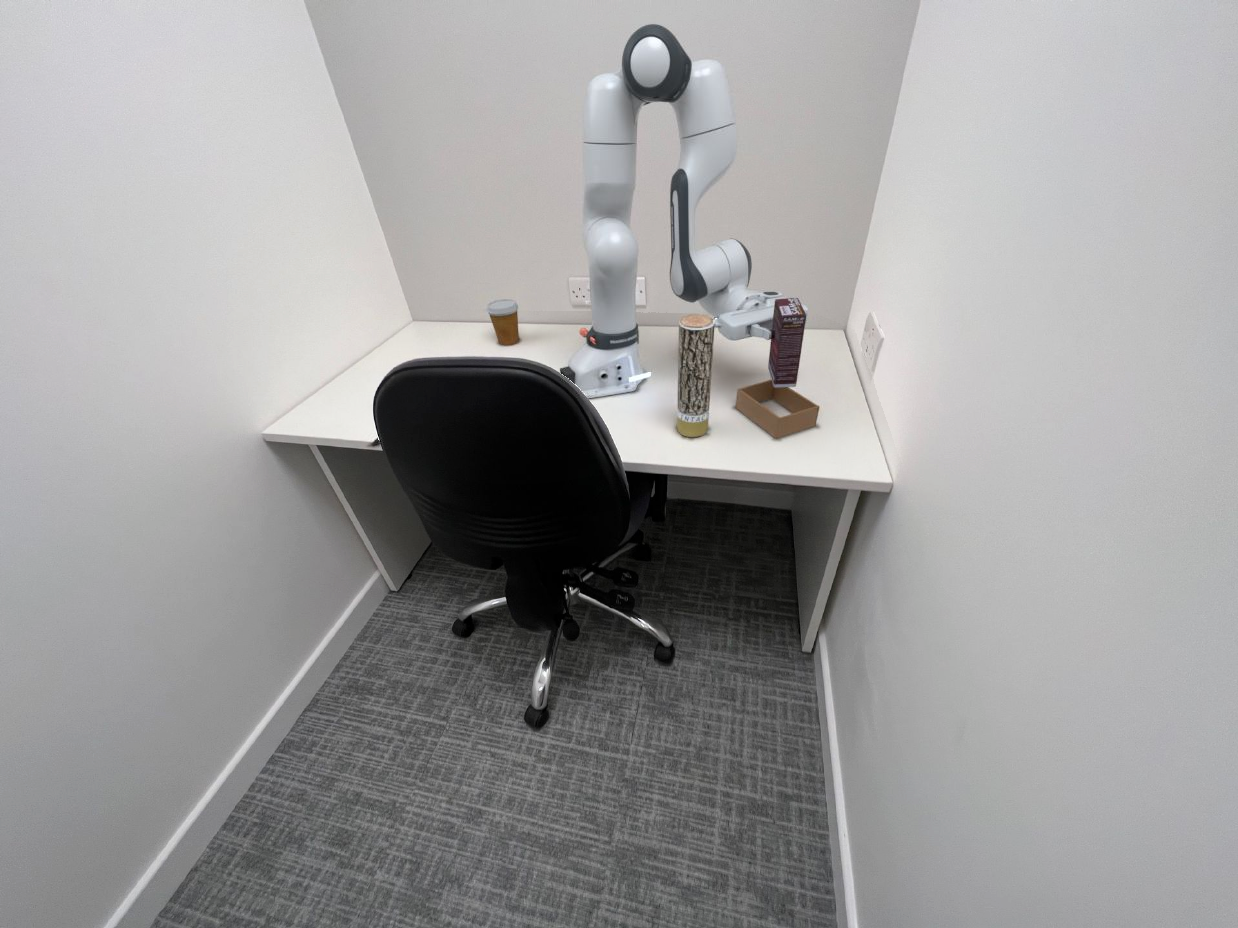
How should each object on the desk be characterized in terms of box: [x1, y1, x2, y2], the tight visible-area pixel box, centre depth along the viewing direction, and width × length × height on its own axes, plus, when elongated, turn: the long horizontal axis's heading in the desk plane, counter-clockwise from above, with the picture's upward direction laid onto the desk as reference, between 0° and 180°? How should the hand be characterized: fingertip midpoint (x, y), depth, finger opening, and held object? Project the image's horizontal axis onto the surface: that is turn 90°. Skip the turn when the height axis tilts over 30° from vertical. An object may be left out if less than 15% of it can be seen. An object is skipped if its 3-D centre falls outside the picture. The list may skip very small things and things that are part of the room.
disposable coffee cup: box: [486, 298, 520, 346], centre depth 153 cm, size 10×10×12 cm
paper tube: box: [676, 314, 715, 438], centre depth 102 cm, size 7×7×25 cm
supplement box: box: [767, 297, 807, 388], centre depth 101 cm, size 9×5×16 cm, turn 175°
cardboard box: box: [735, 379, 820, 440], centre depth 111 cm, size 10×15×5 cm
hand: (786, 332), depth 101 cm, fingers closed on supplement box, 6 cm apart
